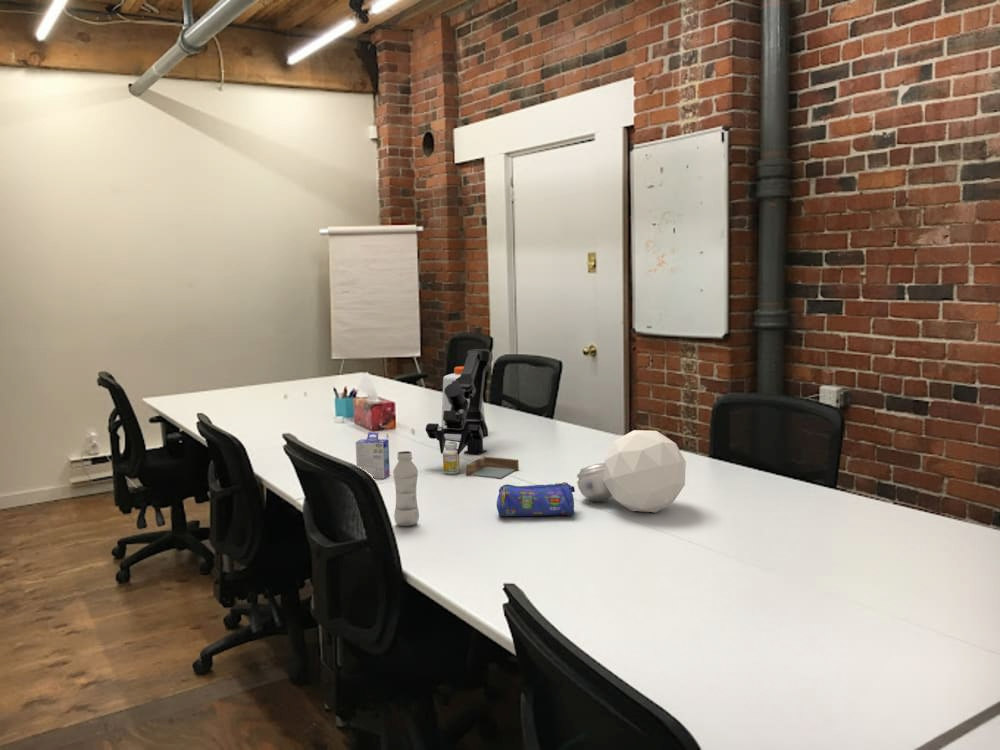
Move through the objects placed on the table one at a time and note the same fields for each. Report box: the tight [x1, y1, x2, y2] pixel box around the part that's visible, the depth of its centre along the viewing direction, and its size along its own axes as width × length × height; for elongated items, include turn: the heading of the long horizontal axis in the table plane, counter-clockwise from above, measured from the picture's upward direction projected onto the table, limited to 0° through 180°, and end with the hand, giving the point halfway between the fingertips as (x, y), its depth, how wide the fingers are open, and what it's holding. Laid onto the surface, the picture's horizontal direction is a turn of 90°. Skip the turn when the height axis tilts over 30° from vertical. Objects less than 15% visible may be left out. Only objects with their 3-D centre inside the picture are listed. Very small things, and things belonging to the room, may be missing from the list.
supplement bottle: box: [442, 441, 461, 475], centre depth 281 cm, size 5×5×10 cm
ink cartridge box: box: [355, 432, 391, 480], centre depth 279 cm, size 10×6×14 cm, turn 78°
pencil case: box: [496, 481, 576, 517], centre depth 235 cm, size 22×9×10 cm, turn 91°
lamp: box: [576, 429, 687, 513], centre depth 240 cm, size 22×34×24 cm, turn 49°
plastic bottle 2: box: [440, 365, 486, 442], centre depth 334 cm, size 15×15×28 cm
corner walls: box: [465, 456, 520, 477], centre depth 281 cm, size 13×13×4 cm
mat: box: [470, 466, 516, 480], centre depth 281 cm, size 11×11×1 cm
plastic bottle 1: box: [392, 450, 420, 527], centre depth 228 cm, size 6×7×20 cm
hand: (449, 453), depth 280 cm, fingers closed on supplement bottle, 5 cm apart
